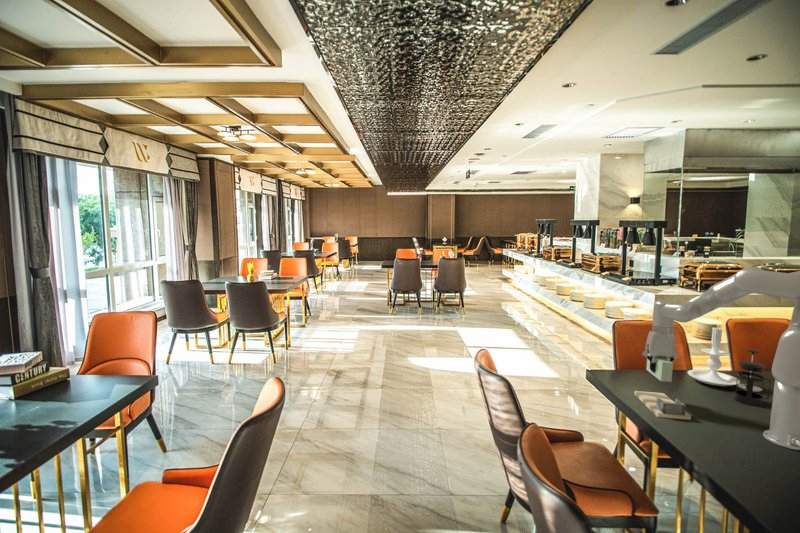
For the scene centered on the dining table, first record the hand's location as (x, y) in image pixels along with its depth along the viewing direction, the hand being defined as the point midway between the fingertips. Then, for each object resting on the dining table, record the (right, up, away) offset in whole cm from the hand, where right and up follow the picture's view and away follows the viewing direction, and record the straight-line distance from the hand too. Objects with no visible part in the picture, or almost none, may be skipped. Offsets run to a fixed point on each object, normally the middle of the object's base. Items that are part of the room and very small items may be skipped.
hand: (658, 371), depth 175 cm
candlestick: (+44, -12, +27) cm, 53 cm away
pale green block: (0, -2, 0) cm, 2 cm away
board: (-1, -14, -2) cm, 14 cm away
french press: (+42, -14, +3) cm, 44 cm away
